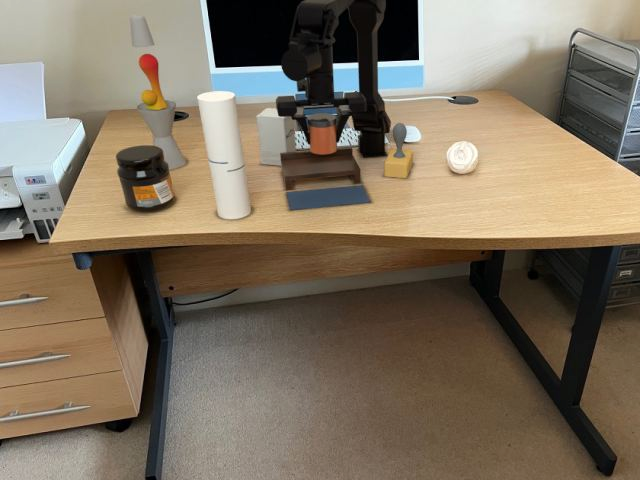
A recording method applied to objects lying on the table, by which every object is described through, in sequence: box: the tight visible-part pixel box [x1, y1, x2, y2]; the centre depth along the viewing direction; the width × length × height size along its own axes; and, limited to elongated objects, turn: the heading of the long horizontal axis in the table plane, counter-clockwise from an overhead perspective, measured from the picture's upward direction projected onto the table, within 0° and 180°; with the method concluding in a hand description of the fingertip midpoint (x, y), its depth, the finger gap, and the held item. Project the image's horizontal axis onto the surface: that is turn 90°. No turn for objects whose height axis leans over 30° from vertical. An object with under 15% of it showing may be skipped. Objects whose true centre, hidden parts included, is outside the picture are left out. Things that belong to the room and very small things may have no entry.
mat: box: [286, 184, 371, 211], centre depth 132 cm, size 18×9×1 cm, turn 103°
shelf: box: [280, 146, 362, 191], centre depth 141 cm, size 18×11×5 cm, turn 103°
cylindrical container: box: [196, 90, 252, 220], centre depth 119 cm, size 7×7×25 cm
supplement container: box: [115, 144, 176, 213], centre depth 126 cm, size 10×10×12 cm
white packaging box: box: [255, 107, 297, 166], centre depth 148 cm, size 7×7×13 cm
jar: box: [306, 112, 338, 155], centre depth 126 cm, size 6×6×7 cm
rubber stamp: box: [383, 122, 414, 179], centre depth 143 cm, size 10×6×12 cm, turn 169°
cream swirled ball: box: [445, 140, 480, 175], centre depth 143 cm, size 8×8×8 cm
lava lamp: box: [129, 14, 187, 171], centre depth 139 cm, size 9×9×35 cm
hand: (323, 143), depth 127 cm, fingers closed on jar, 6 cm apart
